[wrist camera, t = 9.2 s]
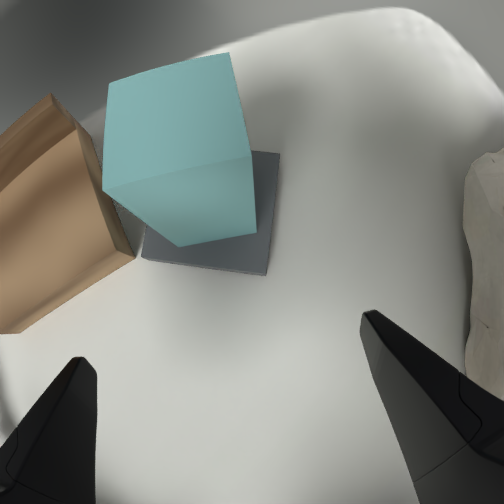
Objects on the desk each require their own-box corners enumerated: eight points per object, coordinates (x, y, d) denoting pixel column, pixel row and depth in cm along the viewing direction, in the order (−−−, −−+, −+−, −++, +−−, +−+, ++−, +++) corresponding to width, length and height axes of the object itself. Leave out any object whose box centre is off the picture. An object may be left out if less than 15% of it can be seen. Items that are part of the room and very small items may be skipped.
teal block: (256, 232, 15) (252, 156, 7) (178, 247, 15) (102, 190, 7) (243, 161, 16) (228, 52, 8) (170, 176, 16) (109, 83, 8)
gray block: (278, 163, 17) (280, 153, 16) (265, 275, 16) (266, 273, 15) (171, 154, 17) (165, 145, 16) (148, 260, 16) (140, 256, 15)
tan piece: (135, 258, 16) (84, 237, 11) (19, 333, 16) (-37, 335, 10) (90, 135, 18) (50, 92, 12) (-8, 216, 17) (-54, 196, 12)
